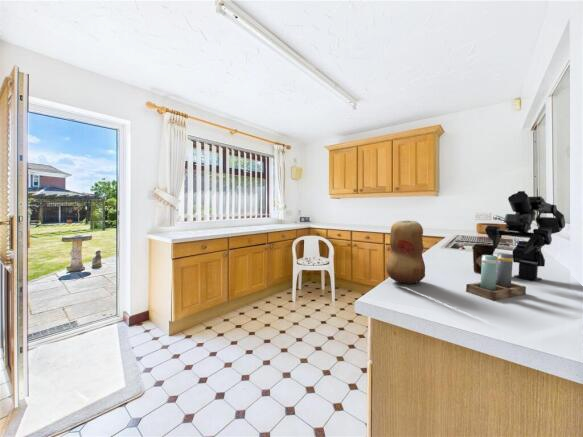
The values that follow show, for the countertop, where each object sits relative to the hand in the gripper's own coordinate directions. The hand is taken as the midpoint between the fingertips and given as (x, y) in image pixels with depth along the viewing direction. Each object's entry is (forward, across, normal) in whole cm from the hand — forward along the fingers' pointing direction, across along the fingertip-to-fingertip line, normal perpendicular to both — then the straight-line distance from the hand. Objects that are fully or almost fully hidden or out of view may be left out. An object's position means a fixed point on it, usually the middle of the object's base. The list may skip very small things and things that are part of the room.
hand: (508, 251), depth 93 cm
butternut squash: (+32, -21, -12) cm, 40 cm away
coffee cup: (+1, -13, +19) cm, 23 cm away
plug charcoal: (+17, +3, +1) cm, 17 cm away
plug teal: (+22, +2, -5) cm, 23 cm away
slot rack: (+20, +2, -1) cm, 20 cm away
